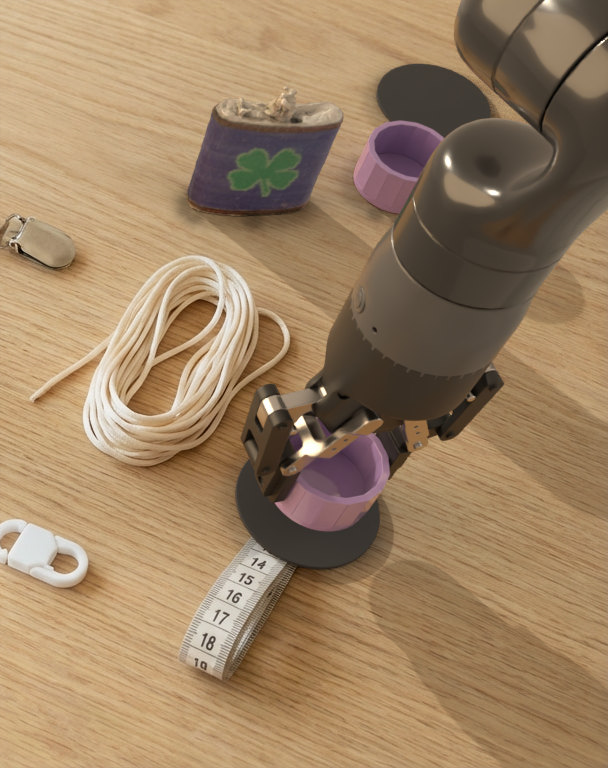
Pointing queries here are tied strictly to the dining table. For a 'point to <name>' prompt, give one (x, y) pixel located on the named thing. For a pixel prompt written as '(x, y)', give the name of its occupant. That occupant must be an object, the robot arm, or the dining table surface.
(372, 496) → the dish
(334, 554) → the disc
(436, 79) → the coaster back
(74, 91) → the dining table surface
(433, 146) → the dish
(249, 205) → the flask
